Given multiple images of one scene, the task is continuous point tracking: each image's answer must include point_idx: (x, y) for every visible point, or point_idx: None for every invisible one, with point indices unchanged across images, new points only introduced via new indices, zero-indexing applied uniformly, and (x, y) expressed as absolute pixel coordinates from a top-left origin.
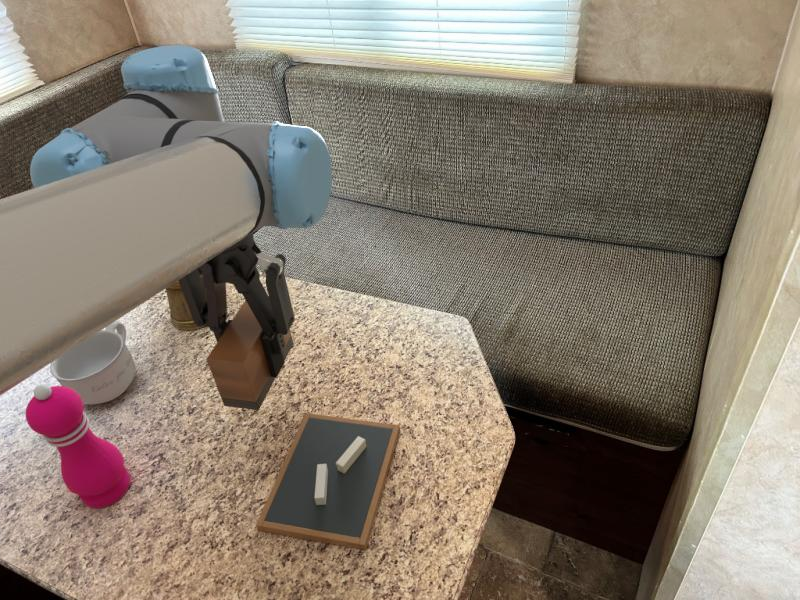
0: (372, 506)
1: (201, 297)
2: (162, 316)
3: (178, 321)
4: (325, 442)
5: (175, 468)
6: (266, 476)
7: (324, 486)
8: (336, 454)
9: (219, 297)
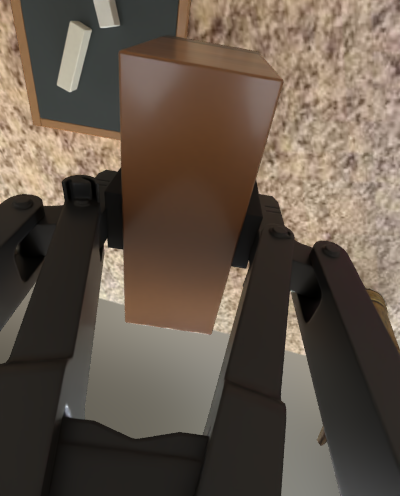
0: None
1: (321, 343)
2: (396, 309)
3: (375, 300)
4: None
5: (373, 40)
6: (213, 24)
7: None
8: (104, 65)
9: (232, 340)
